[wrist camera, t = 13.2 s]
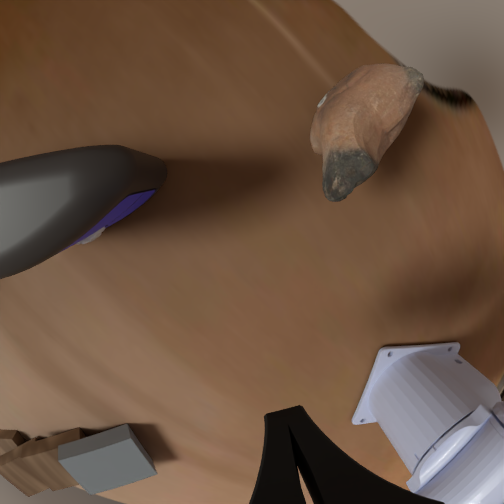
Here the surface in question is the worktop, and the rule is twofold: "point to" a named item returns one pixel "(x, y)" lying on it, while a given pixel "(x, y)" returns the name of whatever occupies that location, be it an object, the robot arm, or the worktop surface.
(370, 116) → the oil lamp
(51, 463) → the domino
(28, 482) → the domino
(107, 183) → the dark grey curved shell
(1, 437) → the domino
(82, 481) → the slate domino
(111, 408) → the worktop surface
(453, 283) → the worktop surface
